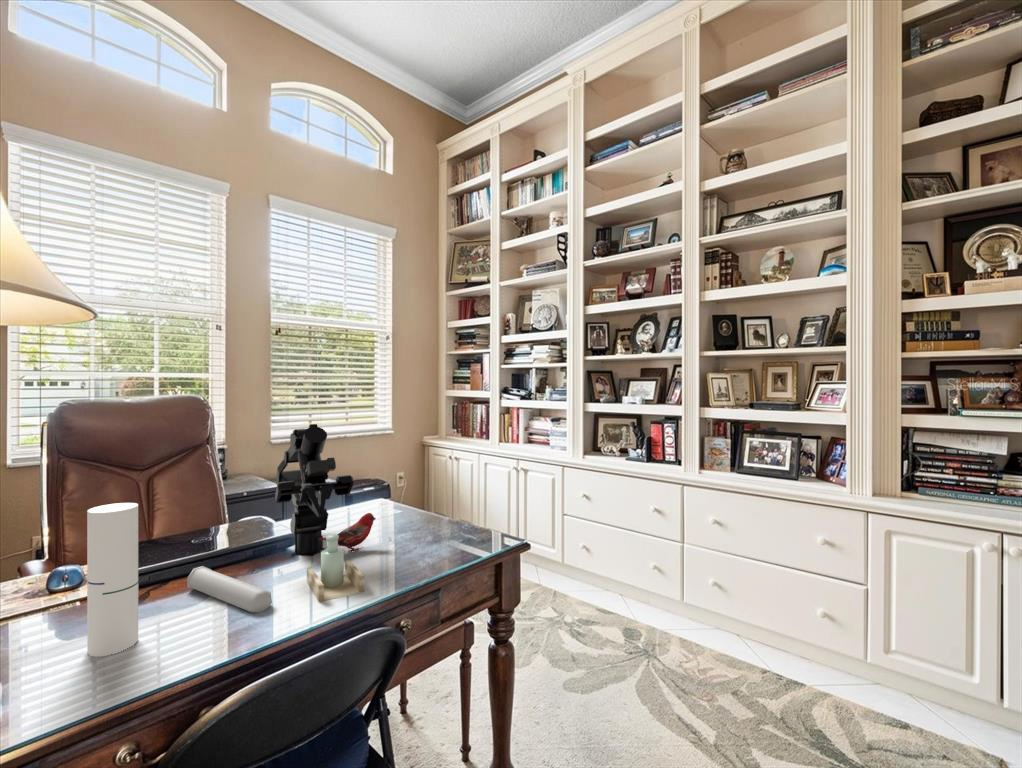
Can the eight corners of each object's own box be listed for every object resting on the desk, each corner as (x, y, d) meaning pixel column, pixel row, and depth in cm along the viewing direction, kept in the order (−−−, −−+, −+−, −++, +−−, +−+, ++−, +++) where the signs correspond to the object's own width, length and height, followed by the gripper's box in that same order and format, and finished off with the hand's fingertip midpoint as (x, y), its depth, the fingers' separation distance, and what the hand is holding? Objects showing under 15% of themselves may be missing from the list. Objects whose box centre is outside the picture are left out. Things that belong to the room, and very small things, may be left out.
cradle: (306, 585, 115) (306, 568, 115) (349, 575, 121) (349, 559, 121) (318, 604, 105) (318, 585, 105) (364, 593, 111) (364, 575, 111)
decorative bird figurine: (378, 546, 142) (378, 512, 142) (320, 563, 129) (320, 525, 129) (373, 544, 144) (373, 510, 144) (315, 560, 131) (315, 523, 131)
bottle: (316, 586, 113) (316, 538, 113) (328, 578, 118) (328, 532, 118) (336, 588, 112) (336, 540, 112) (347, 579, 117) (347, 533, 117)
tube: (280, 589, 104) (213, 565, 117) (258, 590, 100) (191, 565, 112) (273, 616, 103) (206, 589, 115) (249, 618, 98) (182, 590, 111)
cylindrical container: (107, 636, 92) (106, 503, 92) (147, 634, 93) (147, 502, 92) (76, 657, 85) (76, 513, 85) (120, 655, 86) (120, 512, 85)
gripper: (277, 450, 124) (284, 503, 115) (351, 445, 134) (364, 493, 125) (272, 476, 130) (279, 528, 121) (343, 469, 141) (355, 517, 132)
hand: (320, 516), depth 125 cm, fingers closed
